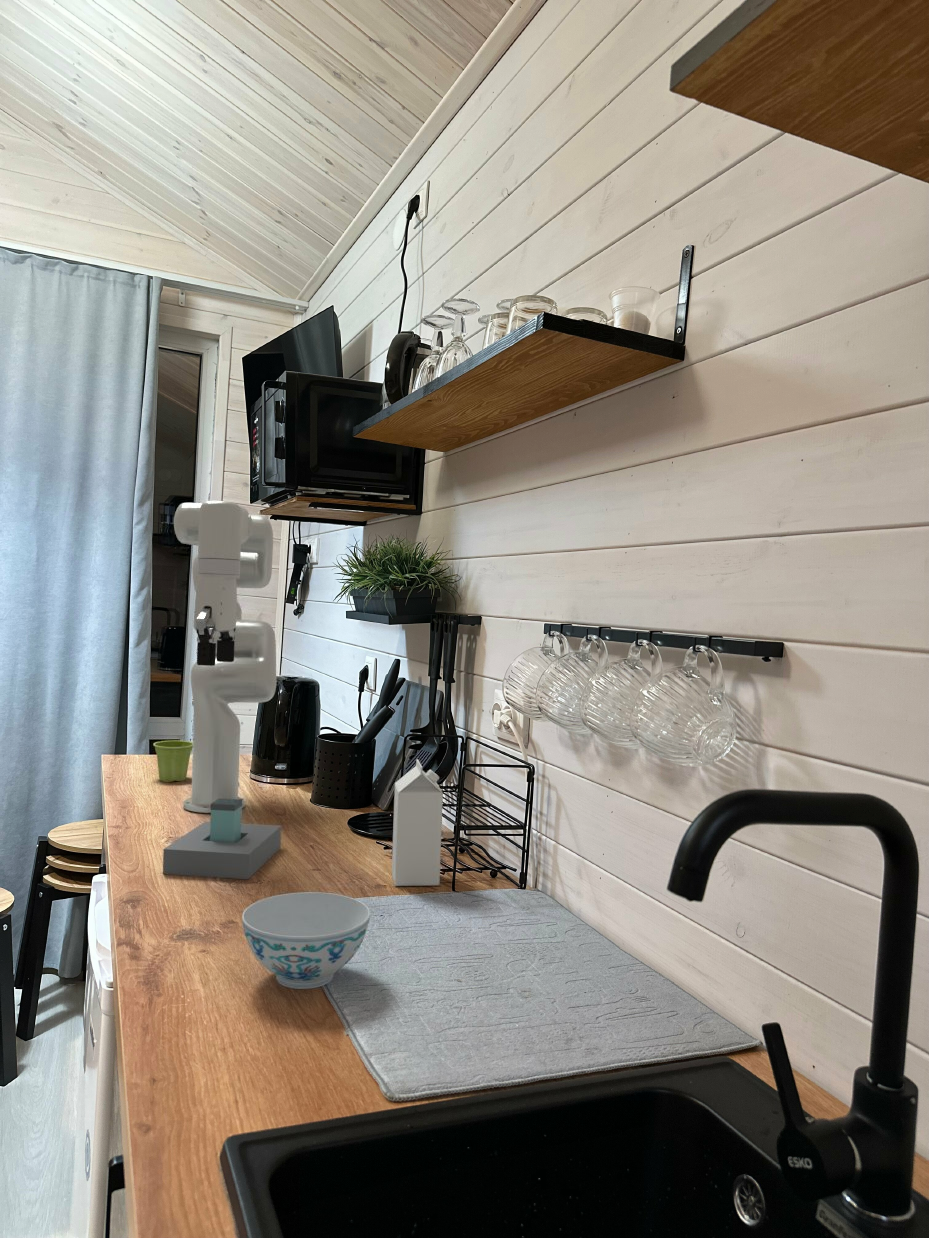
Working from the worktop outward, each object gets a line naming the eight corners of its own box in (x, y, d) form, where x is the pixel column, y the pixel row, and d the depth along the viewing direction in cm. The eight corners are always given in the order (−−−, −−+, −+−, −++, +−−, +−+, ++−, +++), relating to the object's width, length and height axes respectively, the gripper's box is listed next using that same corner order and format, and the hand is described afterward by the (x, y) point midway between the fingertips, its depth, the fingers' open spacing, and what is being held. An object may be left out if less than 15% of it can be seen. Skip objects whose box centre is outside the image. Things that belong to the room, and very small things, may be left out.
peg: (217, 856, 153) (218, 798, 153) (240, 857, 153) (242, 799, 153) (208, 863, 149) (210, 803, 149) (232, 864, 149) (234, 804, 149)
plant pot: (200, 777, 217) (201, 742, 217) (180, 785, 208) (181, 748, 208) (166, 774, 219) (167, 739, 219) (144, 781, 210) (145, 745, 210)
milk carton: (394, 887, 141) (399, 767, 140) (391, 873, 148) (395, 758, 147) (439, 886, 142) (444, 767, 141) (434, 872, 149) (438, 759, 148)
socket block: (204, 843, 161) (205, 821, 161) (280, 848, 160) (281, 825, 160) (162, 873, 143) (163, 848, 143) (248, 879, 142) (249, 854, 142)
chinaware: (287, 943, 116) (289, 885, 116) (389, 965, 110) (392, 904, 110) (213, 988, 102) (215, 922, 102) (326, 1016, 97) (328, 946, 96)
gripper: (215, 570, 172) (212, 659, 172) (180, 567, 154) (177, 666, 155) (253, 572, 171) (250, 661, 171) (222, 568, 154) (219, 667, 154)
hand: (215, 663), depth 163 cm, fingers open, 9 cm apart
